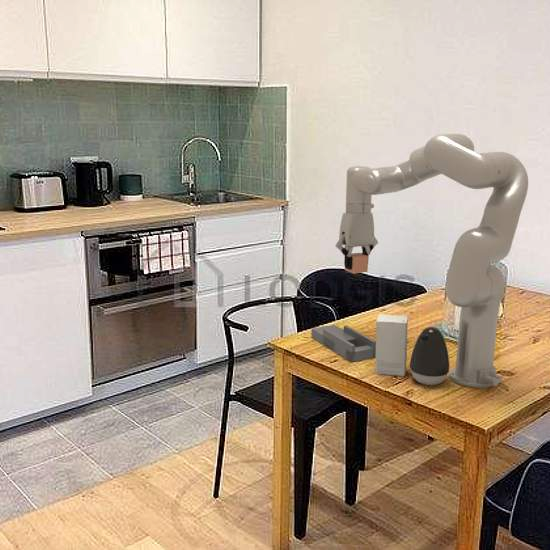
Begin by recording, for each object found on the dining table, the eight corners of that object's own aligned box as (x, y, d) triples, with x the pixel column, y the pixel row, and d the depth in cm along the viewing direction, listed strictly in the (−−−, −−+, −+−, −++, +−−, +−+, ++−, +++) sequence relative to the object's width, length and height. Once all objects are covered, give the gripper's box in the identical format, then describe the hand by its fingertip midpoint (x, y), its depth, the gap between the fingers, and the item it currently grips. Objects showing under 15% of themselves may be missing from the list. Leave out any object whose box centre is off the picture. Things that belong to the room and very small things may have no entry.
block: (367, 271, 196) (368, 255, 195) (353, 273, 194) (354, 257, 192) (358, 268, 200) (358, 252, 199) (344, 270, 198) (345, 254, 197)
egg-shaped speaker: (400, 381, 171) (404, 327, 168) (422, 370, 178) (426, 318, 175) (434, 393, 164) (438, 337, 161) (455, 381, 171) (459, 327, 168)
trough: (375, 357, 187) (376, 341, 186) (351, 362, 184) (352, 346, 183) (334, 333, 207) (334, 318, 206) (311, 337, 204) (311, 322, 202)
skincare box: (406, 368, 180) (409, 315, 176) (404, 377, 174) (407, 322, 170) (376, 365, 182) (379, 312, 178) (373, 374, 176) (376, 320, 172)
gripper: (374, 205, 199) (372, 262, 204) (327, 208, 192) (325, 268, 196) (389, 208, 193) (386, 267, 197) (340, 212, 185) (339, 273, 190)
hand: (356, 267), depth 197 cm, fingers closed on block, 4 cm apart
